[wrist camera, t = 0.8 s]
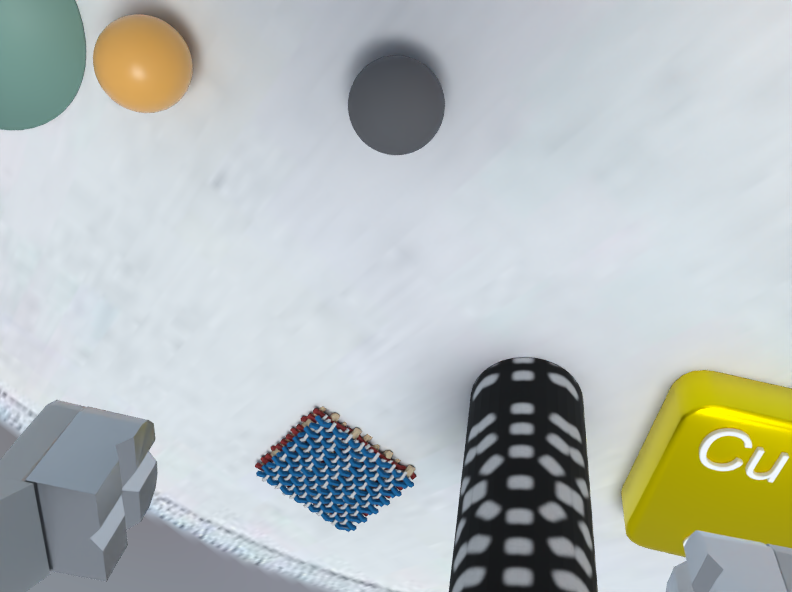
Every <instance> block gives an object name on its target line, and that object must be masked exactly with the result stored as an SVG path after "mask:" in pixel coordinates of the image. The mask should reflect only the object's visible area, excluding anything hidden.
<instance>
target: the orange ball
mask: <svg viewBox="0 0 792 592" xmlns="http://www.w3.org/2000/svg"><path fill="white" fill-rule="evenodd" d="M93 65H94V71H95V74H96V77H97V79H98V82H99V83H100V85H101V87H102V88H103V90H104V91H105V93H106V94H107V95H108V96H109V97H110V98H111V99H112V100H113V101H115V102H116V103H117V104H119V105H121V106H122V107H124V108H126V109H129V110H132V111H136V112H141V113H154V112H159V111H162V110H165V109H168V108H170V107H171V106H173V105H174V104H176V103H177V102H178V101H179V100H180V99H181V98H182V97H183V96H184V94H185V93H186V91H187V89H188V87H189V85H190V82H191V78H192V71H193V65H192V58H191V54H190V51H189V48H188V46H187V44H186V42H185V41H184V39H183V38H182V36H181V35H180V34H179V33H178V32H177V31H176V30H175V29H174V28H173V27H172V26H171V25H169V24H168V23H166V22H165V21H163V20H161V19H159V18H156V17H153V16H149V15H143V14H135V15H127V16H124V17H121V18H119V19H117V20H115V21H113V22H112V23H110V24H109V25H108V26H107V27H106V28H105V29H104V30H103V31H102V33H101V34H100V36H99V37H98V39H97V42H96V44H95V48H94V53H93Z"/></svg>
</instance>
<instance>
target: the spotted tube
mask: <svg viewBox="0 0 792 592" xmlns="http://www.w3.org/2000/svg"><path fill="white" fill-rule="evenodd" d="M449 592H598V588H597V575H596V562H595V549H594V536H593V523H592V510H591V497H590V483H589V470H588V457H587V444H586V431H585V418H584V405H583V396H582V392H581V389H580V387H579V385H578V383H577V382H576V381H575V379H574V378H573V377H572V376H571V375H570V374H569V373H568V372H567V371H566V370H564V369H563V368H561V367H559V366H558V365H556V364H553V363H551V362H548V361H545V360H541V359H536V358H514V359H509V360H505V361H501V362H499V363H497V364H495V365H493V366H491V367H490V368H488V369H487V370H485V371H484V372H483V373H482V374H481V375H480V376H479V377H478V378H477V380H476V382H475V384H474V385H473V389H472V392H471V399H470V408H469V417H468V426H467V435H466V444H465V452H464V461H463V470H462V479H461V488H460V497H459V506H458V515H457V524H456V533H455V542H454V551H453V560H452V569H451V577H450V586H449Z"/></svg>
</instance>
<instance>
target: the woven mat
mask: <svg viewBox="0 0 792 592" xmlns="http://www.w3.org/2000/svg"><path fill="white" fill-rule="evenodd" d="M325 410H326V408H325V407H321V408H319V409H317V408H315V409H314V410H313V413H312V414H311V413H310V414H309V415H308V416H307V417H306V416H303V417H302V418H301V421H302V422H303V423H302V424H301V425H300V424H298V425H297V427H296V429H295V428H292V429H291V431H292V434H291V435H290V434H287V435H286V439H282V440H281V442H280V443H281V444H279V443H278V444H277V445H276V446H272V447H271V450H272V452H271V454H269V453H267V454H266V455H265V457H264V456H263V457H262V458H261V461H262V464H260V463H257V464H256V465H255V467H256V468H258V469H260V470H261V471H258V472H257V473H256V474H257V476H259V477H263V478H262V481H266V480H267V482H268V483H269V484H270V485H277V486H275V489H278V488H280V489H281V491H282V492H283V493H282V494H283V495H284V496H285V495H292V496H290V497H289V498H291V499H292V498H294V500H295V501H296V502H297V503H305V504H306V505H303V506H304V507H308V508H309V510H310V511H311V512H319V513H316V514H317V515H318V516H320V515H321V516H322V517H323V519H324V520H325V521H330V522H332V523H331V524H332V525H335V527H336V528H337V529H339V530H346V531H348V532H349V531H350V530H353V531H354V530H356V526H355V525H353V524H352V523H351V522H350V521H352V522H357V523H358V524H359V523H361V522H364V523H365V522H366V521H367V518H366V517H364V516H363V515H365V516H367V515H368V514H369V515H371V514H372V513H374V514H377V513H378V509H376V508H375V507H374V506H373V505H374V504H375V505H376V506H378V505H379V506H381V507H382V506H383V505H384V504H385V505H389V504H390V501H389V500H387V499H386V498H385V497H387V498H390V497H392V498H394V497H395V496H398V497H399V496H401V495H402V494H401V492H400V491H401V490H402V489H403V488H404V489H406V488H407V487H408V486H409V487H413V486H414V483H413V482H411V481H410V480H409V479H408V478H409V477H411V479H412V480H413V479H414V478H415V477H417V476H416V475H415V473H414V471H415V468H414V467H412V466H411V465H408V467H406V466H403V465H399V464H398V463H399V462H400V461H401V460H399V459H396V460H394V461H393V460H391V457H392V455H393V453H392V452H391V451H389V450H388V451H385V452H384V453H383V454H381V453H380V452H379V451H378V450H379V447H380V446H379V445H378V444H377V445H372V446H371V445H370V444H368V443H367V442H368V441H370V440H371V439H372V437H371V436H369V435H368V434H367V435H365V436H364V437H363V438H362V437H361V436H360V434H361V432H362V431H361V430H359V429H358V428H355V429H354V430H352V429H351V428H348V427H346V424H347V423H346V422H343V423H342V424H339V423H338V422H337V421H338V419H339V415H338V414H336V413H333V414H331V415H330V416H327V414H324V412H325ZM324 420H325V421H324ZM314 429H315V430H314ZM313 430H314V431H313ZM312 431H313V432H312ZM327 432H329V433H327ZM347 433H348V434H347ZM317 442H319V443H317ZM288 448H289V449H288ZM357 451H358V453H356V452H357ZM305 452H308V453H305ZM329 458H330V459H332V460H330V459H329ZM280 460H281V461H280ZM271 461H272V462H271ZM322 468H323V469H322ZM395 469H396V470H395ZM372 471H374V472H372ZM344 477H346V478H344ZM386 478H387V479H386ZM277 479H278V480H277ZM298 486H299V487H298ZM358 486H359V487H358ZM286 487H288V488H286ZM397 489H399V490H400V491H398V490H397ZM387 490H388V491H387ZM298 495H299V496H298ZM312 495H313V497H312ZM360 496H362V497H360ZM384 496H385V497H384ZM340 498H342V499H340ZM312 503H313V505H312ZM352 505H353V506H352ZM364 507H365V508H364ZM361 513H362V514H363V515H362V514H361ZM327 514H329V515H327ZM354 516H356V517H354ZM341 524H342V525H341Z"/></svg>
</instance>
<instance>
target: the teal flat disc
mask: <svg viewBox="0 0 792 592" xmlns="http://www.w3.org/2000/svg"><path fill="white" fill-rule="evenodd" d="M85 61H86V43H85V35H84V29H83V23H82V20H81V17H80V13H79V10H78V7H77V4H76V2H75V0H0V129H3V130H24V129H30V128H34V127H37V126H40V125H43V124H45V123H47V122H49V121H51V120H52V119H54V118H56V117H57V116H58V115H59V114H61V113H62V112H63V111H64V110H65V109H66V108H67V107H68V106H69V104H70V103H71V102H72V101H73V99H74V97H75V96H76V94H77V92H78V90H79V87H80V85H81V82H82V79H83V74H84V70H85Z"/></svg>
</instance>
